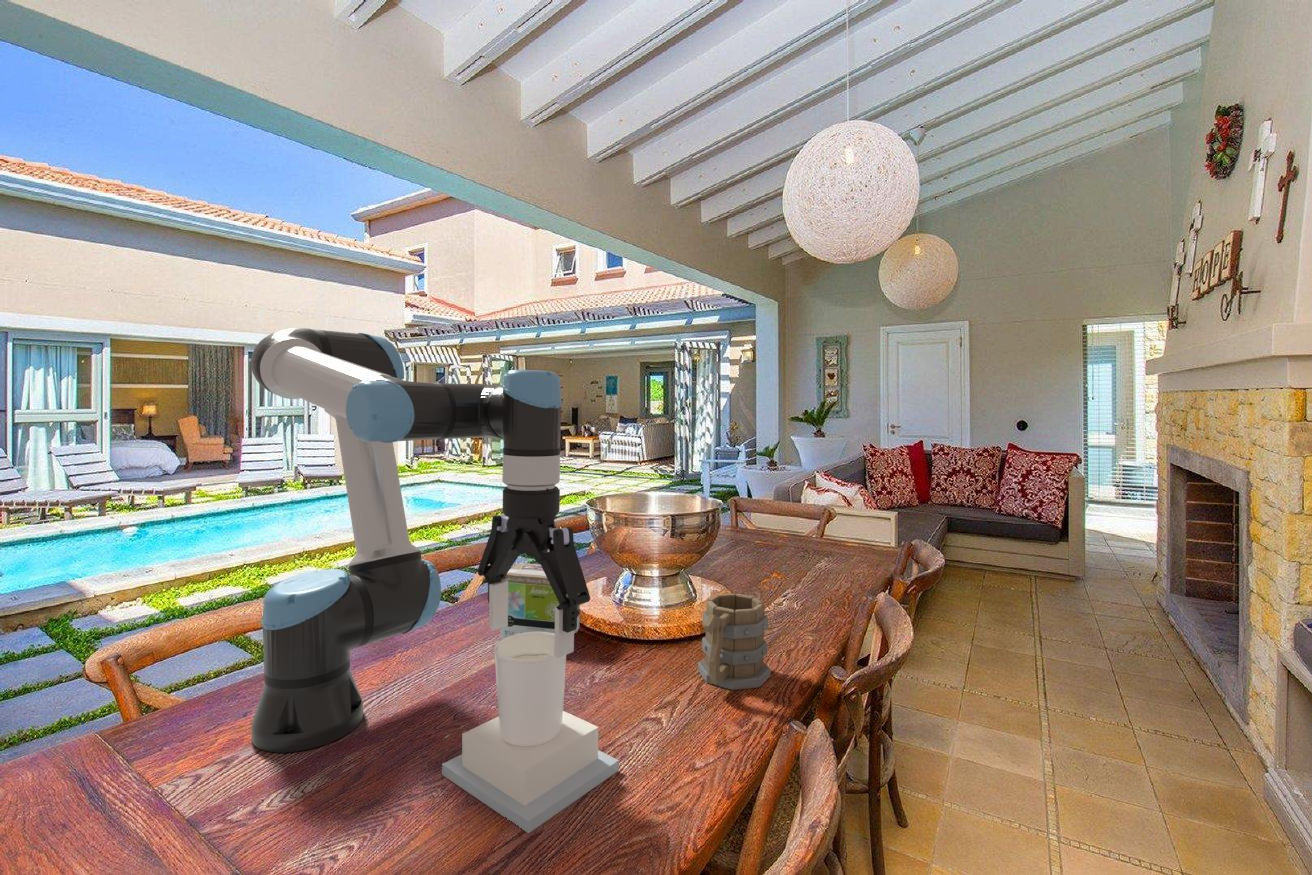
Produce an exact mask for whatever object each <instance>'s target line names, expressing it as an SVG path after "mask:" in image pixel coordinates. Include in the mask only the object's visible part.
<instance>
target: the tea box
mask: <svg viewBox="0 0 1312 875" xmlns="http://www.w3.org/2000/svg"><path fill="white" fill-rule="evenodd" d="M506 575H507V576H505V577H508V578H505V579H502V580H501V581H504V580H505V581H508V626H505V627H502V628H499V630H500V632H499V634H500V635H499V636H500V640H502V639H503V638H506V637H508V636H511V635H514V634H519V633H525V632H548V633H553V634H555V607H556V606H558V605H560V604H559V602H558V599H557V597H556V595H555V593H554V591H553V589H552V587H551V585H550V583H549V581H548V579H547V577H546V575H545V573H544V570H543V568H542V566H541V564H540V563H529V562H527V563H526V562H517V563H516V564H514V565H512V567H511V568H510V570H509V571H508V573H507V574H506ZM579 594H580V593H579ZM566 597H568V594H566ZM580 606H581V605H578V607H577V628H576V630H574V634H575V633H576V634H577V632H578V631H579V630H578V629H580V615H581V614H580V610H581V609H580V608H581V607H580ZM576 634H575V635H576Z"/></svg>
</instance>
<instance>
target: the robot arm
mask: <svg viewBox="0 0 1312 875" xmlns="http://www.w3.org/2000/svg"><path fill="white" fill-rule="evenodd" d="M250 369H251V372H252V375H253V377H254V378H255V380H256V382H258V384H259V385H260V386H261V387H262V388H264V389H265V390H266V391H268V392H270V393H271V394H274V395H276V396H278V397H280V398H284V399H287V400H299V399H302V400H303V401H306V402H308V403H310V404H313V405H315V406H317V407H319V408H322V409H323V410H324V412H325V413H327V414H328V415H329V416H331V417H332V418H334V419H335V425H336V431H337V436H338V437H337V438H338V444H339V450H340V455H341V463H342V468H343V470H342V471H343V475H344V482H345V487H346V488H345V489H346V494H347V502H348V508H349V513H350V519H351V527H352V532H353V539H354V546H355V552H356V553H355V555H354V557H353V558H352V559H351V560H350V562H349V563H348V572H349V573H348V572H347V571H346V570H343V569H339V568H325V569H322V570H321V569H320V570H312V571H307V572H303V573H299V574H297V575H293V576H291V577H288V578H286V579H284V580H281V581H279V582H277V583H276V584H275V585H273V586H272V587H271V588H270V589H269V590H267V592H266V594H265V595H264V598H263V603H262V607H263V608H262V616H261V620H260V622H261V626H262V642H263V644H262V645H263V646H262V647H263V681H264V683H263V684H264V685H263V688H262V692H261V694H260V698H259V701H258V704H257V706H256V709H255V712H254V715H253V718H252V722H251V727H250V728H251V730H250V731H251V733H250V734H251V743H252V744H253V746H255V748H257V749H259V750H261V751H265V752H269V753H293V752H301V751H302V752H303V751H306V750H310V749H314V748H318V747H321V746H324V745H327V744H330V743H332V742H334V741H337V740H339V739H341V738H343V737H345V736H346V735H348V734H350V733H351V732H352V731H353V730H355V729H356V728H357V727H358V726H359V725H361V724H360V723H361V722H362V721H363V718H364V701H363V698H362V696H361V692H360V690H359V688H358V685H357V683H356V680H355V678H354V676H353V673H352V671H351V651H352V650H353V649H356V648H359V647H360V648H361V647H363V646H367V645H369V644H374V643H376V642H379V641H382V640H386V639H389V638H392V637H395V636H397V635H398V636H399V635H404V634H405V635H406V634H408V633H411V632H412V631H414V630H416V629H419V628H422V627H424V626H426V625H427V624H429V623H430V622H431V621H432V620H433V618H434V617H435V615H436V613H437V611H438V609H439V606H440V603H441V598H442V585H441V584H442V583H441V578H440V574H439V571H438V569H435V568H436V567H435V564H434V563H433V562H432V561H430V560H429V559H428V560H427V559H424V558H422V552H421V549H420V548H419V547H417V546H415V544H412V542H411V541H410V537H409V536H410V535H409V531H408V526H407V519H406V512H405V508H404V501H403V494H402V490H401V489H402V488H401V482H400V476H399V471H398V465H397V458H396V453H395V448H394V447H395V446H394V443H395V442H407V441H408V442H410V441H426V440H427V441H429V440H449V439H450V440H452V439H454V440H455V439H456V440H457V439H474V438H475V439H478V438H483V439H485V438H488V439H500V440H503V448H502V481H501V482H502V483H503V484H504V485H505V487H504V488H503V489H502V514H499V515H492V519H491V530H490V533H489V535H488V536H489V537H488V539H487V542H486V545H485V547H484V550H483V553H482V556H481V560H480V562H479V564H478V567H477V574H478V576H480V577H482V576H483V577H484V578H485V582H486V583H487V601H488V630H489V631H492V632H493V631H496V630H500V628H502V627H505V626H508V581H505V580H504V581H501V580H502V579H505V578H508V577H505V576H507V575H506V574H507V573H508V571H509V570H510V568H512V567H513V566H514V565H515V562H516V561H517V560H518V558H519V557H520V555H524V554H525V555H526V556H528V557H531V558H533V559H534V560H535V562H536V564H541V566H542V568H543V570H544V573H545V575H546V577H547V579H548V581H549V583H550V585H551V587H552V589H553V591H554V593H555V595H556V597H557V599H558V602H559V604H560V605H558V606H556V607H555V645H554V657H557V658H560V657H562V656H565V655H566V656H567V655H569V654H571V653H574V652H575V651H574V650H575V649H574V648H575V644H574V643H575V635H574V630H576V628H577V607H578V605H580V606H581V605H582V604H583V605H584V604H586V603H589V602H590V601H591V595H590V591H589V588H588V586H587V581H586V578H585V577H584V573H583V569H582V565H581V564H580V563H581V562H580V560H579V556H578V554H577V550H576V548H575V546H576V545H575V543H574V529H573V527H571V526H565V527H561V528H559V527H556V525H555V524H556V522H555V518H556V517H557V515H558V514H559V513H560V506H561V504H560V502H561V501H560V500H561V497H560V496H561V495H560V492H561V491H560V488H559V487H558V486H557V484H559V483H560V481H561V480H560V478H561V477H560V475H561V472H560V471H561V428H562V424H561V423H562V406H563V400H562V388H561V385H562V384H561V377H560V376H559V374H557V373H556V372H554V371H550V370H538V369H537V370H535V369H510V370H509V369H508V370H507V371H506V372H504V376H503V383H502V384H501V385H499V384H480V383H474V384H473V383H447V382H446V383H445V382H433V383H432V382H422V381H421V382H420V381H419V382H418V381H408V380H405V367H404V362H403V360H402V357H401V355H400V353H399V351H398V349H397V348H396V346H395V345H394V344H393V343H392V342H390V341H389V340H388V339H387V338H385V337H382V336H378V335H371V334H368V333H364V332H358V333H354V332H344V331H343V332H342V331H335V330H334V331H333V330H323V329H311V328H305V327H291V328H285V329H281V330H278V331H274V332H272V333H270V334H269V335H267V336H265V337H264V338H262V339H261V340H260V341H259V342H258V343H257V345H256V346H255V347H254V349H253V351H252V354H251V358H250ZM579 593H580V594H579ZM566 594H568V597H566Z"/></svg>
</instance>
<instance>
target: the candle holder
mask: <svg viewBox="0 0 1312 875" xmlns="http://www.w3.org/2000/svg"><path fill="white" fill-rule="evenodd" d="M554 645H555V634H553V633H548V632H525V633H519V634H514V635H511V636H508V637H506V638H503V639H502V640H501V639H500V640H499V641H498V642H496V644H494V646H493V653H494V665H495V681H496V697H497V712H498V713H497V714H498V716H499V728H500V735H501V737H502V739H503V740H504V741H505V742H507V743H509V744H511V745H515V746H522V747H530V746H537V745H541V744H544V743H547V742H549V741H551V740H552V739H554V738H555V737H556V736H557V735H558V734H559V733H560V731H561V727H562V717H563V711H564V699H565V686H566V683H565V681H566V668H567V655H565V656H562V657H560V658H557V657H554Z"/></svg>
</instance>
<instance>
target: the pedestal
mask: <svg viewBox="0 0 1312 875" xmlns="http://www.w3.org/2000/svg"><path fill="white" fill-rule="evenodd" d="M461 735H462V736H461V738H462V739H461V745H462V746H461V747H462V748H461V749H462V750H461V754H458V756H455V757H453V758H451V759H449V760H448V761H445V762H443V763H441V775H442V776H443V777H445V778H446V779H447V780H449V781H451V782H452V783H454V784H455V785H457V786H458V787H460V788H461V789H462V790H463V791H466V792H467V793H468V794H469V795H471V796H472V797H474V798H475V799H477V800H478V801H480V802H481V803H483V804H484V805H486V806H487V807H489V808H490V809H492V810H493V811H494V812H497V813H498V814H499V815H501V816H502V817H504V818H505V817H506V818H507V819H506V818H505V819H506V820H508V821H509V820H510V821H509V822H511V821H512V822H514V823H515V824H516V826H517V825H518V826H519V827H518V826H517V827H518V828H520V829H521V828H522V830H523V831H524V832H525V833H527V834H530V833H531V832H533V831H534V830H536V829H537V828H539V827H541V826H542V825H543V824H544V823H546V822H547V821H548V820H550V819H552V818H553V817H555V816H556V815H557V814H558V813H560V812H561V811H563V810H564V809H566V808H567V807H569V806H570V805H572V804H574V802H576V801H577V800H579V799H580V798H582V797H583V796H585V795H586V794H587V793H589V792H590V791H591V790H593V789H594V788H596V787H598V786H599V785H600V784H602V783H603V782H604V781H606V780H608V779H609V778H610V777H612V776H613V775H615V774H616V773H618V772H619V771H620V770H619V768H620V767H619V766H620V765H619V764H620V763H619V762H620V761H619V759H618V758H615V757H613V756H611V755H609V754H607V753H605V752H604V751H601V750H599V726H598V725H596V724H593V723H591V722H588V721H586V720H585V719H582V718H580V717H577V716H576V715H573V714H571V713H569V712H567V711H564V710H563V717H562V727H561V731H560V733H559V734H558V735H557V736H556V737H555V738H554V739H552V740H551V741H549V742H547V743H544V744H541V745H537V746H530V747H522V746H515V745H511V744H509V743H507V742H505V741H504V740H503V739H502V737H501V735H500V728H499V715H498V716H496V717H494V718H492V719H490V720H488V721H486V722H484V723H482V724H480V725H477V726H476V727H473V728H471V729H469V730H468V731H465V732H462V734H461ZM512 822H511V823H512ZM514 823H513V824H514ZM515 824H514V825H515Z"/></svg>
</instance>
